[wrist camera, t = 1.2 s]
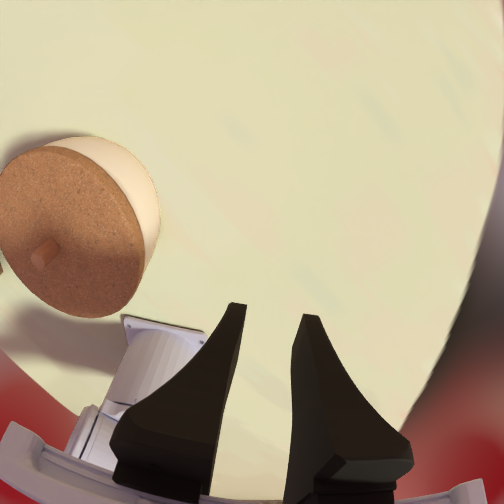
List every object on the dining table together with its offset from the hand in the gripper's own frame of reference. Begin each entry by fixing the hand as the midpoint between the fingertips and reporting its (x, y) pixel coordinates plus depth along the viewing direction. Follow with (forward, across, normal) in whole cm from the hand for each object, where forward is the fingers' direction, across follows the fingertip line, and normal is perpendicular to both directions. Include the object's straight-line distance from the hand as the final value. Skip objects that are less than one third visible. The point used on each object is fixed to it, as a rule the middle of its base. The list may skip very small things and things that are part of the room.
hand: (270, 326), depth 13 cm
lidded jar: (+11, +12, 0) cm, 16 cm away
